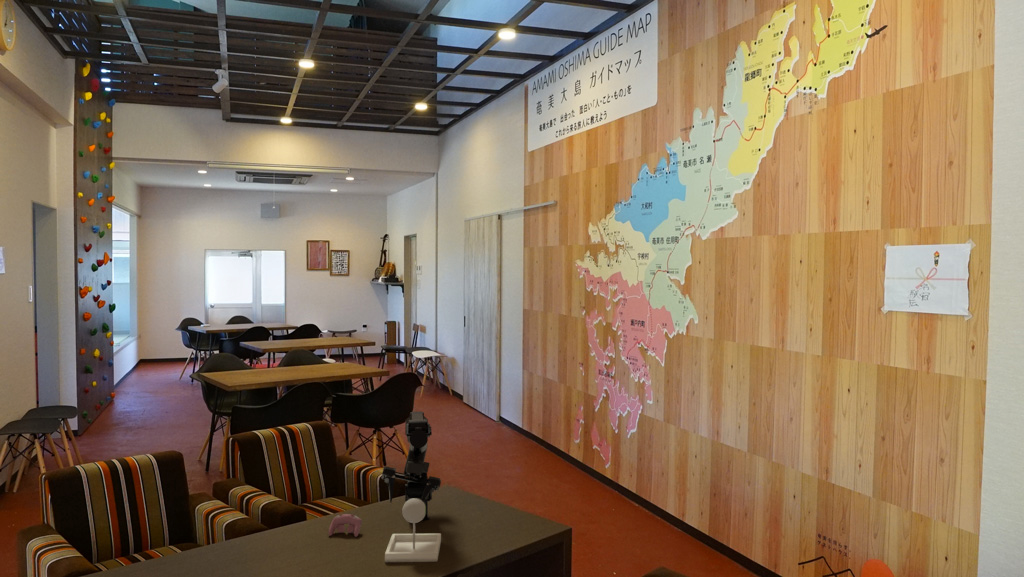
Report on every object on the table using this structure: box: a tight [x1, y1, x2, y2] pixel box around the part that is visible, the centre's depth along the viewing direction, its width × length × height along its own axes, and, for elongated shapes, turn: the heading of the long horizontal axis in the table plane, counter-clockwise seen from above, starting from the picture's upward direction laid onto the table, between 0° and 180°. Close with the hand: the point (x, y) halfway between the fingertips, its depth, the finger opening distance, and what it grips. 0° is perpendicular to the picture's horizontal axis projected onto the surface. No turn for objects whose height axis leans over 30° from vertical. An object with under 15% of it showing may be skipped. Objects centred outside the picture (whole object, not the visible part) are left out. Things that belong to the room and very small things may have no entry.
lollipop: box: [401, 498, 426, 549], centre depth 200 cm, size 7×7×15 cm
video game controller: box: [328, 513, 362, 538], centre depth 215 cm, size 10×5×7 cm, turn 85°
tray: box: [384, 532, 442, 563], centre depth 200 cm, size 15×15×2 cm
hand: (404, 505), depth 210 cm, fingers open, 9 cm apart
